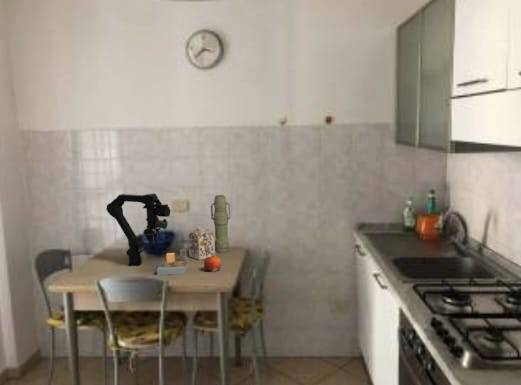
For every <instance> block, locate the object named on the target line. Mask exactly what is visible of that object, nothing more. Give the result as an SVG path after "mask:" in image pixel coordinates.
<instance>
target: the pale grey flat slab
mask: <svg viewBox="0 0 521 385" xmlns="http://www.w3.org/2000/svg"><path fill="white" fill-rule="evenodd" d="M188 265H189V264H188V263H187V264H186V267H163V261H162V262H161V263H160V264H159V266H158V268H156V275H157V276H163V275H165V276H167V275H168V274H173V275H184V274H185V273H186V270H187V268H188Z"/></svg>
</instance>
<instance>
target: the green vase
mask: <svg viewBox="0 0 521 385" xmlns="http://www.w3.org/2000/svg"><path fill="white" fill-rule="evenodd" d="M227 205H228V210H227ZM213 206H214V209H213ZM213 210H214V211H213ZM227 211H228V212H227ZM210 216H211V220H212V221H213V224H214V239H215V251H216V252H215V253H226V252H229V251H230V241H229V235H228V234H229V233H228V232H229V231H228V224H229V220H231V206H230V203H229V202H227V199H226V196H225V195H223V194H219V195H215V196H214V199H213V203H211V205H210Z"/></svg>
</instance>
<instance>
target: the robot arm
mask: <svg viewBox="0 0 521 385" xmlns="http://www.w3.org/2000/svg"><path fill="white" fill-rule="evenodd" d="M125 202H126V203H127V202H129V203H131V202H132V203H141V204H143V206H142V209H146V210H145V211H146V218H145V221H146V228H144V230H143V235H144V236H145V237H146V240H147V241H148V242H149V245H150V246H153V245H154V242H157V238H158V234H159V231H160V230H161V229H163V230H166V229H167V228H168V225H169V221H168V219H167V218H168V217H170V214H171V209H170V207H169V204H162V202H161V200H160V198H159V197H158V195H157V194H156V193H148V194H130V193H129V194H125V193H121V194H118V195H117V196H116V198H114V199H113V200H112V201H111V202H110V203H108V204H107V205H106V211H107V213H108V214H109V216H110V217H112V218H114V219H115V221H116V222H117V223H118V225H119V227H120V228H121V230H122V232H123V234H124V236H125V237H126V238H127V242H128V243H127V245H128V247H129V248H128V249H127V251H126V255H127V256H128V261H129V262H128V263H129V264H128V266H129V267H130V266H131V267H133V266H134V267H135V266H136V267H137V266H141V265H142V264H143V256H142V253H143V250H144V249H145V246H146V244H145V241H144V240H143V237H142V236H141V235H140V236H137V235H136V233H135V232H134V230H133V229H132V227H131V225H130V223H129V222H128V221H127V219H126V217H125V215H124V209H123V206H124V205H125ZM159 217H160V218H161V217H163V219H161V220H160V218H159ZM166 217H167V218H166ZM165 218H166V219H165Z"/></svg>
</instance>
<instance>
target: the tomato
mask: <svg viewBox="0 0 521 385" xmlns="http://www.w3.org/2000/svg"><path fill="white" fill-rule="evenodd" d="M221 266H222V262H221V258H219V257H218V256H216V255H215V256H211V257H207V258H206V259H203V267H204V269H206V271H207V270H208V271H211V272H215V271H219V270H220V268H221Z"/></svg>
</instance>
